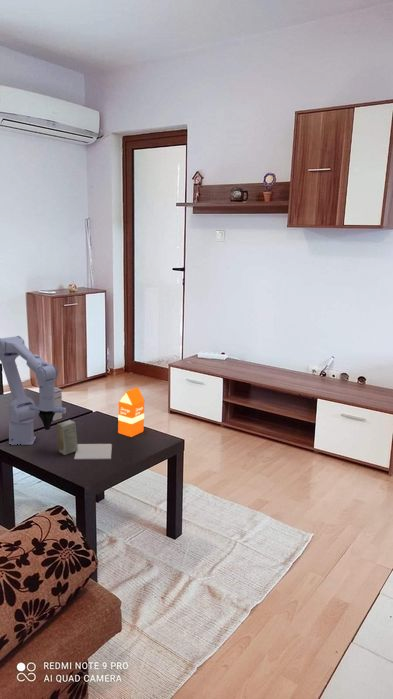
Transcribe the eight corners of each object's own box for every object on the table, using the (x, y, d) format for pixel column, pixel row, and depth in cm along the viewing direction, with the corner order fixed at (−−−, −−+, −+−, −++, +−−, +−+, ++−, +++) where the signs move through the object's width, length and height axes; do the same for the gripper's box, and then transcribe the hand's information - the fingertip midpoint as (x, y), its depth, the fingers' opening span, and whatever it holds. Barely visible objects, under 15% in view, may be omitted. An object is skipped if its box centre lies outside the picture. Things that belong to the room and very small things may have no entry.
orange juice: (117, 432, 225) (118, 389, 220) (130, 427, 232) (131, 385, 228) (131, 437, 221) (132, 393, 217) (144, 431, 228) (145, 388, 224)
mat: (74, 459, 196) (74, 458, 196) (77, 444, 210) (77, 444, 210) (110, 459, 198) (110, 458, 198) (111, 444, 212) (111, 443, 212)
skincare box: (72, 447, 206) (70, 419, 204) (78, 450, 203) (76, 422, 201) (58, 452, 202) (56, 423, 199) (64, 455, 199) (61, 426, 196)
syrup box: (62, 418, 239) (62, 388, 236) (52, 421, 234) (52, 391, 231) (54, 415, 242) (53, 386, 239) (44, 418, 237) (43, 388, 234)
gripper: (68, 394, 200) (68, 427, 203) (33, 391, 201) (34, 423, 204) (61, 400, 193) (62, 433, 196) (25, 396, 194) (26, 430, 197)
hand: (47, 428), depth 200 cm, fingers closed
